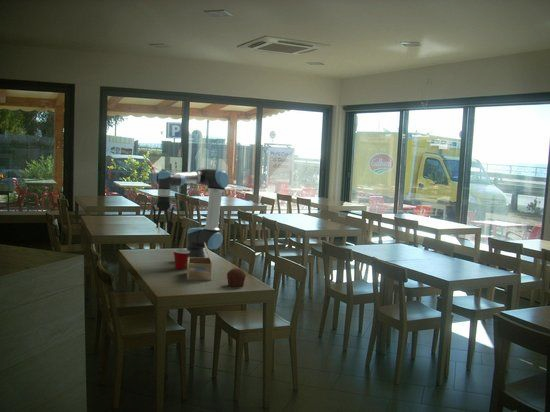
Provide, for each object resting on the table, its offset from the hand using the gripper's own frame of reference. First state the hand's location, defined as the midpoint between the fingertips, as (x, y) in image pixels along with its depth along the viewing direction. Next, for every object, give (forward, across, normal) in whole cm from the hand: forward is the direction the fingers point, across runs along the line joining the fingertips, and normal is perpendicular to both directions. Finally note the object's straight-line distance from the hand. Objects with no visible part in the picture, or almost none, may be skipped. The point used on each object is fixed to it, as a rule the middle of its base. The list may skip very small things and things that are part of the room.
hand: (162, 233), depth 356 cm
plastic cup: (+25, +12, +14) cm, 31 cm away
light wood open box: (+25, +24, -8) cm, 35 cm away
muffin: (+25, +45, -30) cm, 60 cm away
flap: (+14, +31, -8) cm, 35 cm away
